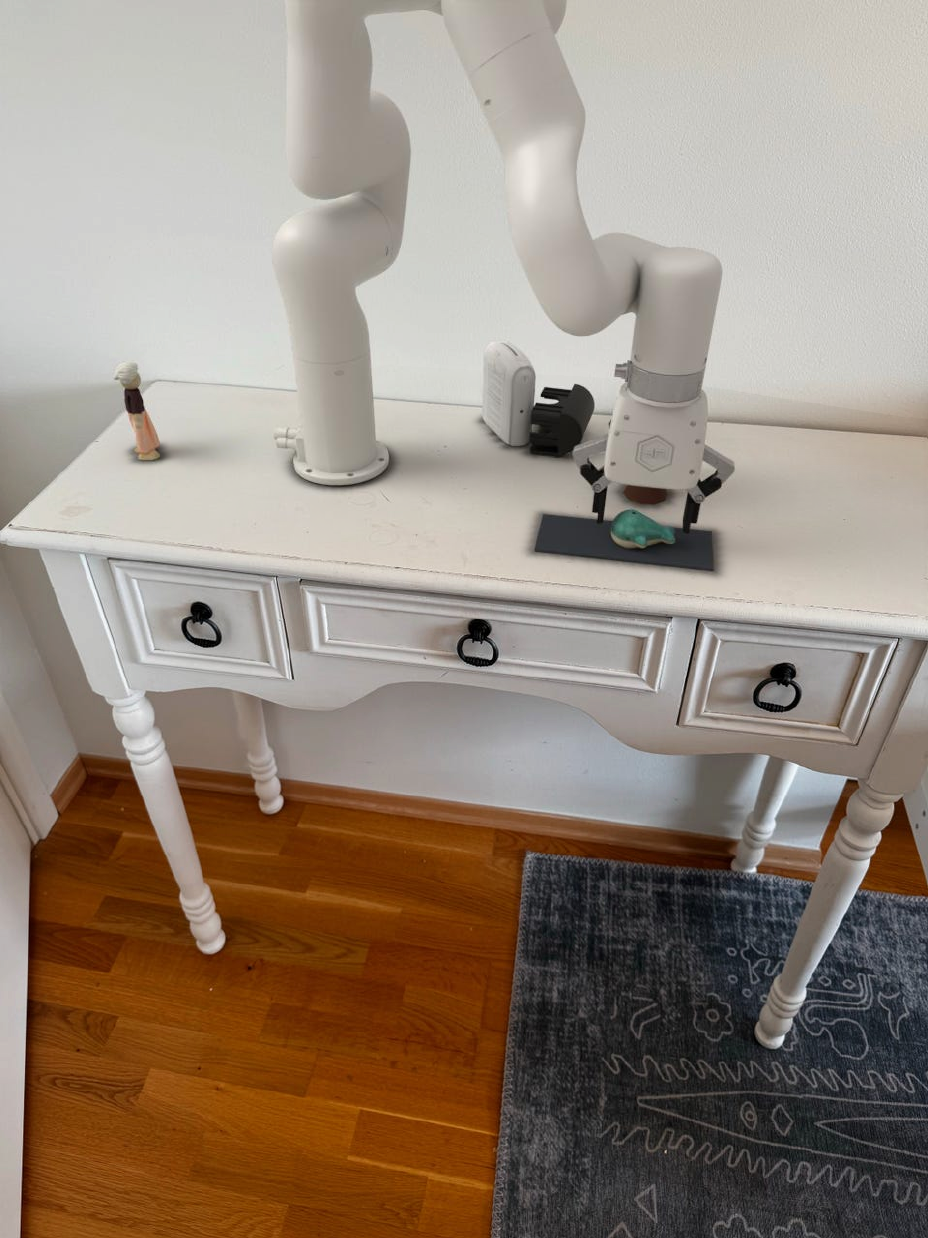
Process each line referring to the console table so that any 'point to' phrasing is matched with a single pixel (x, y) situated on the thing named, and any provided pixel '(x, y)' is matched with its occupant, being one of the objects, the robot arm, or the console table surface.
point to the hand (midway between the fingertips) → (642, 522)
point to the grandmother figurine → (137, 411)
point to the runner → (598, 543)
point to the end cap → (561, 420)
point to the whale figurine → (639, 530)
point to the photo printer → (508, 392)
